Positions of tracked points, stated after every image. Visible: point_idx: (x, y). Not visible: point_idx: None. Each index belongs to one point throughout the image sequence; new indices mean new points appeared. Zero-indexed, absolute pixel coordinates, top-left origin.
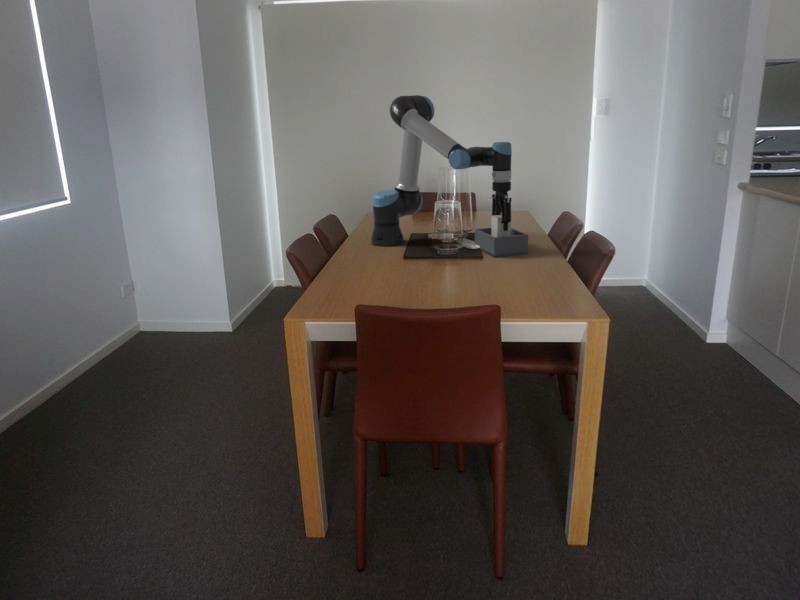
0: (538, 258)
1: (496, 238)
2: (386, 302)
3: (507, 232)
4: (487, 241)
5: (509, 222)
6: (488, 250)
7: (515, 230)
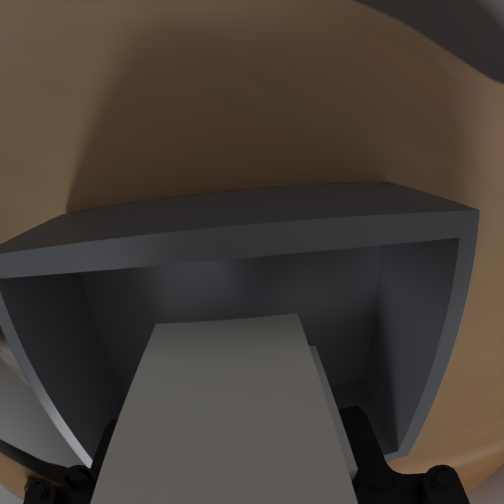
0: (476, 173)
1: (410, 443)
2: (468, 490)
3: (328, 385)
4: None
5: (337, 453)
6: None
7: (209, 255)
